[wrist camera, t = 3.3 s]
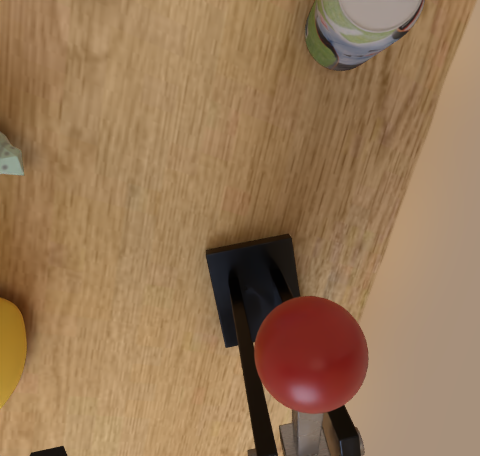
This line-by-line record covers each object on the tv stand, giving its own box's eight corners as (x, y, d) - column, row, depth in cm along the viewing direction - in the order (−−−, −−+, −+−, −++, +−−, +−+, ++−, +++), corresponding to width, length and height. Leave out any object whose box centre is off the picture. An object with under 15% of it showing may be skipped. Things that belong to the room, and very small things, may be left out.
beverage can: (349, 84, 37) (418, 80, 25) (275, 41, 35) (312, 16, 24) (388, 13, 35) (479, -26, 24) (312, -35, 34) (371, -101, 22)
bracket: (205, 249, 40) (214, 418, 19) (288, 233, 40) (386, 381, 20) (224, 340, 43) (250, 569, 22) (302, 324, 43) (398, 536, 23)
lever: (240, 286, 14) (263, 399, 11) (350, 264, 14) (397, 371, 11) (266, 432, 25) (280, 503, 22) (326, 419, 25) (347, 489, 23)
